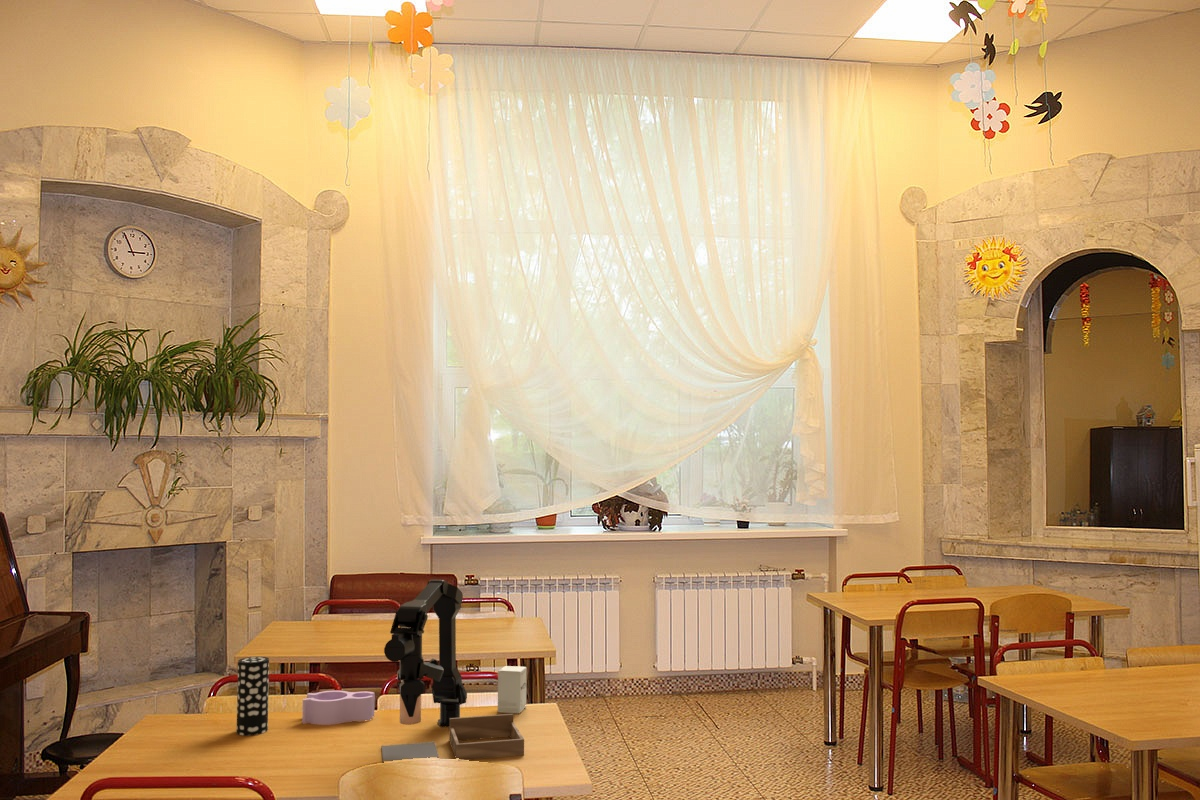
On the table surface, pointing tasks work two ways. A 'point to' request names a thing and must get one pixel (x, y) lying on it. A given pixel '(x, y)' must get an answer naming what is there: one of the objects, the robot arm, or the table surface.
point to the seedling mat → (409, 751)
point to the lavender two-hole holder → (338, 707)
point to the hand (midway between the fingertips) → (410, 713)
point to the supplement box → (511, 689)
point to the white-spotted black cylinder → (252, 695)
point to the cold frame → (485, 736)
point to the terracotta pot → (404, 715)
